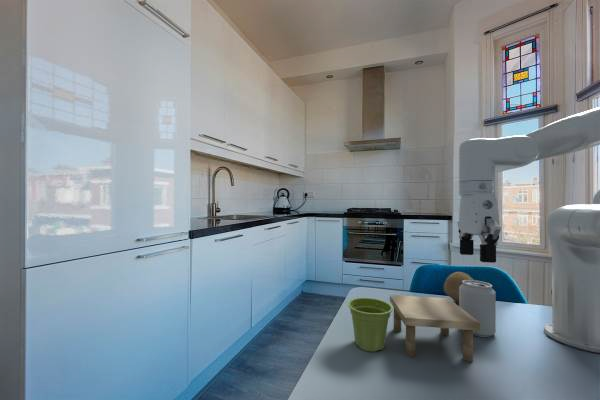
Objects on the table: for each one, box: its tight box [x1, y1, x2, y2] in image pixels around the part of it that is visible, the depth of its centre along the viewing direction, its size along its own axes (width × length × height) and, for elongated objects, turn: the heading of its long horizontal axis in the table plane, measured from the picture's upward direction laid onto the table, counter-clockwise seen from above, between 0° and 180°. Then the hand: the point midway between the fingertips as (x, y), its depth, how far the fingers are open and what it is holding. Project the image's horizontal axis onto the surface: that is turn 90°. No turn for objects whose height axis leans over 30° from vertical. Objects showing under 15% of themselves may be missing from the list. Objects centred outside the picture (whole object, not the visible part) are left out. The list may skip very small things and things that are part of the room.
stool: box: [389, 294, 480, 363], centre depth 59 cm, size 14×14×8 cm
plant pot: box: [347, 297, 394, 353], centre depth 58 cm, size 9×9×9 cm
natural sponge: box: [443, 271, 474, 304], centre depth 85 cm, size 9×9×10 cm
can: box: [458, 279, 497, 338], centre depth 66 cm, size 8×8×12 cm
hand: (476, 258), depth 66 cm, fingers open, 9 cm apart
